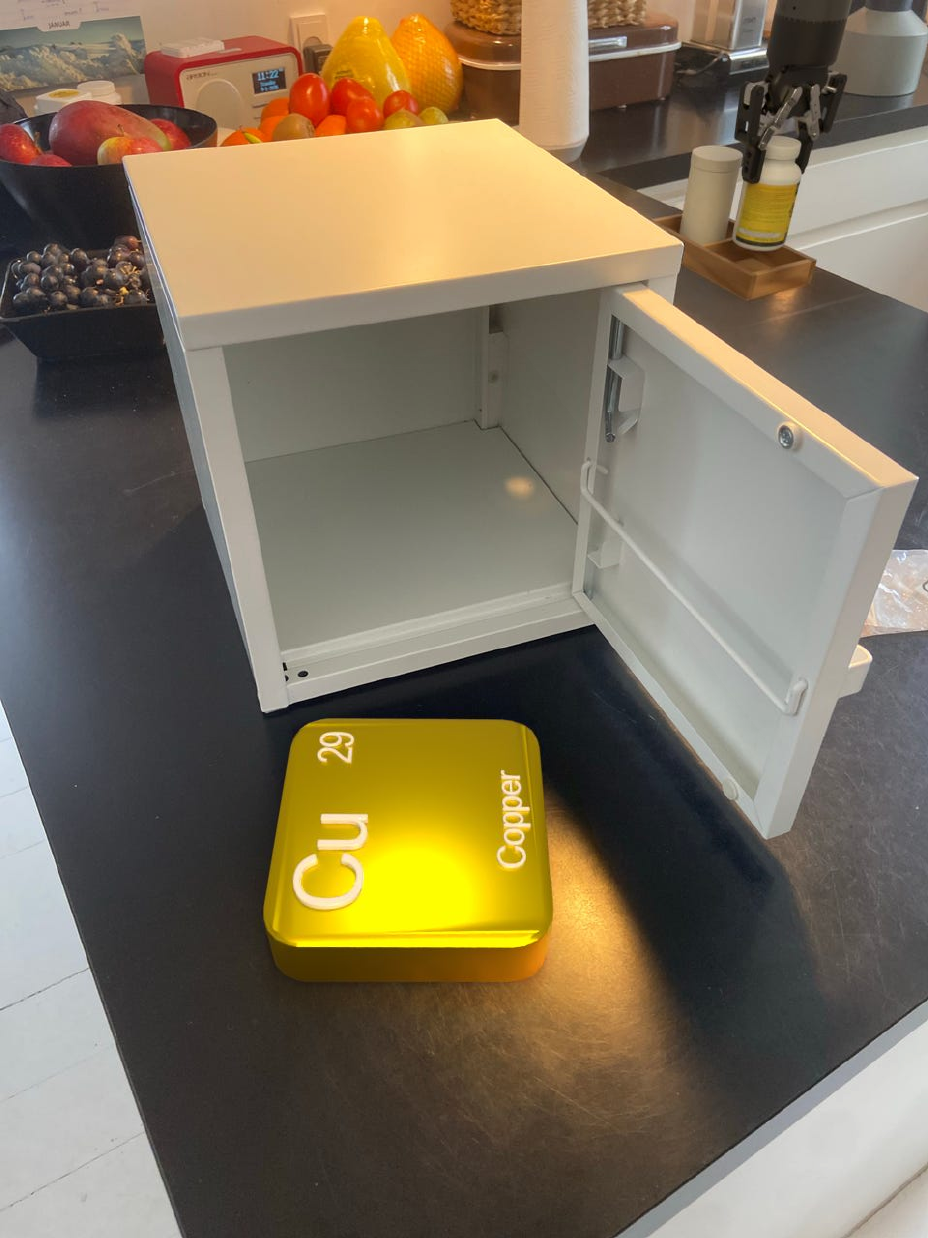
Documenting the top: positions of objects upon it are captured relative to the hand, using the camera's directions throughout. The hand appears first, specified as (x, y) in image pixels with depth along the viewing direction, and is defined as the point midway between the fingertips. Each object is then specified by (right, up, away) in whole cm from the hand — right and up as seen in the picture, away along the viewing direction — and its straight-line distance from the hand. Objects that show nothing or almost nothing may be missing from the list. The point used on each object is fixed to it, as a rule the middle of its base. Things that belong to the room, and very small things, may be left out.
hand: (772, 176), depth 108 cm
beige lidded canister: (-5, -3, +14) cm, 15 cm away
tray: (-3, -6, +12) cm, 13 cm away
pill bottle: (0, -6, +5) cm, 8 cm away
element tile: (-39, -67, -54) cm, 94 cm away
